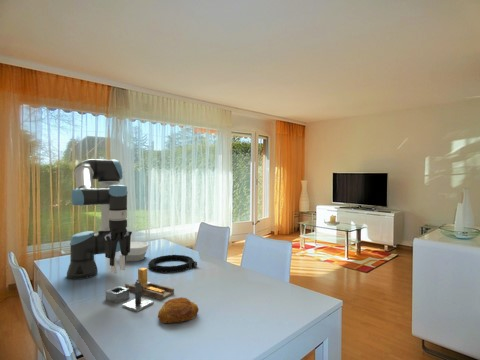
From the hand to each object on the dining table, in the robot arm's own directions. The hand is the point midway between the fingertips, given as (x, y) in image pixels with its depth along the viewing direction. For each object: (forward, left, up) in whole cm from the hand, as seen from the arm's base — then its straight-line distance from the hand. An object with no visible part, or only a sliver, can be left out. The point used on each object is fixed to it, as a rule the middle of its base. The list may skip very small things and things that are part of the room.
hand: (118, 270), depth 132 cm
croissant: (+34, +1, -13) cm, 36 cm away
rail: (+6, +13, -13) cm, 19 cm away
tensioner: (+7, +13, -11) cm, 18 cm away
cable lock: (-11, +49, -13) cm, 52 cm away
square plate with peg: (+13, 0, -13) cm, 18 cm away
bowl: (-43, +47, -13) cm, 65 cm away
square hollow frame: (0, 0, -13) cm, 13 cm away
